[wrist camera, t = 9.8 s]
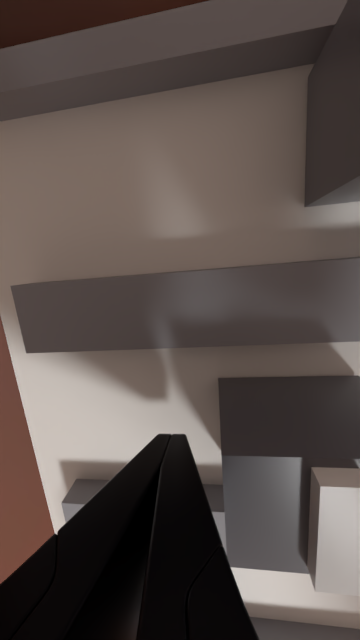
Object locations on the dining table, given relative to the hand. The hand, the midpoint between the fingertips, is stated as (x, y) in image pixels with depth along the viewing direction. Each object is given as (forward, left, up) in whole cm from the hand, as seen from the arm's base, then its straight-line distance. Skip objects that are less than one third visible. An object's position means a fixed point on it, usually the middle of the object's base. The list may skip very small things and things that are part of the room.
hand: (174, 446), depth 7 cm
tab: (-3, 0, -1) cm, 4 cm away
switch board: (-2, 0, -3) cm, 3 cm away
